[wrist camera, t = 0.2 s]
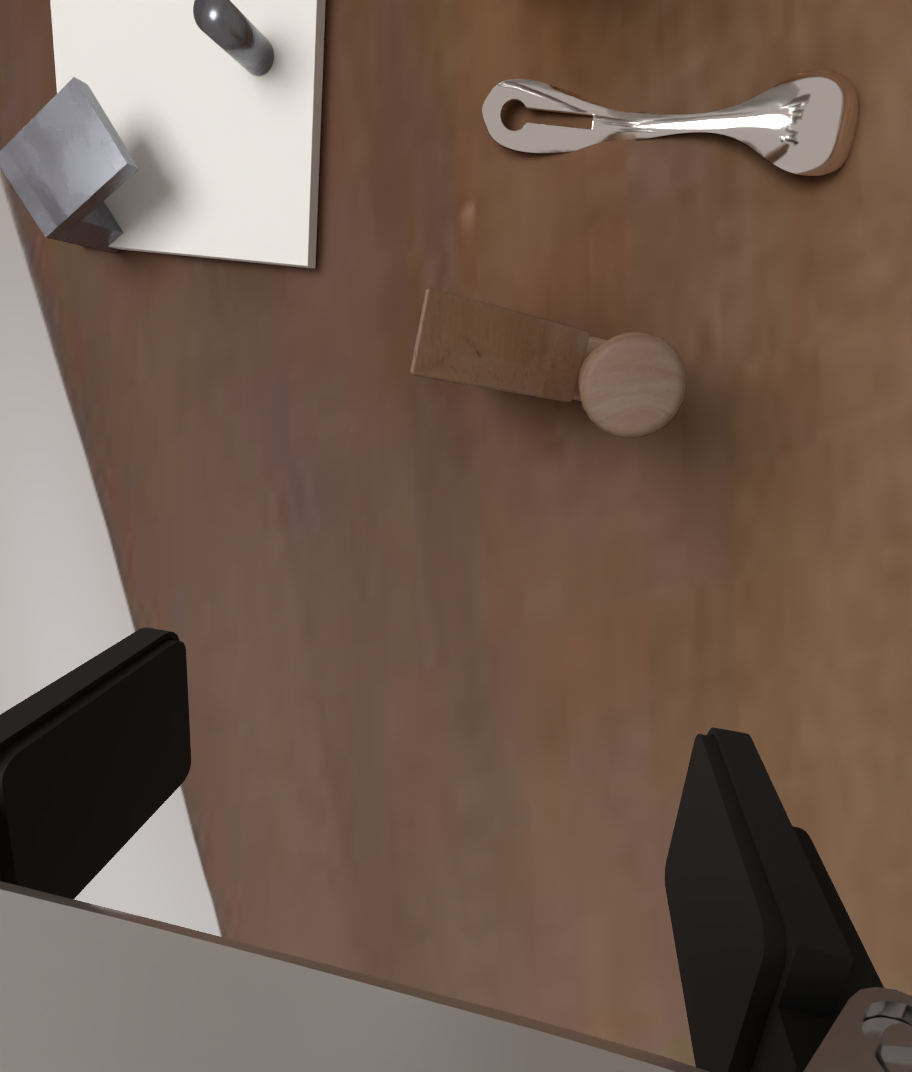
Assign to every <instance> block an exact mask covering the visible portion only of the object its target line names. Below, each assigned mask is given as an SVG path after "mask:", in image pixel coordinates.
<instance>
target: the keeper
mask: <svg viewBox="0 0 912 1072" xmlns="http://www.w3.org/2000/svg"><path fill="white" fill-rule="evenodd" d="M0 167H1V169H2V171H3V172H4V174H5V175H6V177H7V178H8V180H9V181H10V183H11V184H12V186H13V188H14V189H15V191H16V192H17V194H18V195H19V197H20V198H21V200H22V201H23V203H24V205H25V206H26V208H27V209H28V211H29V212H30V214H31V215H32V217H33V218H34V220H35V222H36V223H37V225H38V226H39V228H40V229H41V231H42V232H43V234H44V235H45V237H46V238H50V239H54V240H59V241H63V242H67V243H72V244H76V245H80V246H85V247H89V248H93V249H98V250H102V251H106V252H110V253H115V254H116V253H117V252H119V251H120V250H121V249H117V248H113V247H109V245H110V244H111V243H113V242H114V241H115V240H116V239H117V238H118V237H119V236H121V235H122V234H123V231H122V229H121V228H120V226H119V225H118V223H117V221H116V220H115V218H114V217H113V215H112V213H111V212H110V210H109V209H108V207H107V205H106V204H105V202H104V200H105V199H106V198H107V197H108V196H110V195H111V194H112V193H113V192H114V191H115V190H116V189H117V188H118V187H119V186H121V185H122V184H123V183H124V182H125V181H126V180H127V179H128V178H129V177H131V176H132V175H133V174H134V173H135V172H136V171H137V170H138V169H139V167H138V166H137V164H136V163H135V161H134V159H133V158H132V156H131V154H130V153H129V151H128V149H127V148H126V146H125V145H124V143H123V141H122V140H121V138H120V136H119V135H118V133H117V131H116V130H115V128H114V127H113V125H112V123H111V122H110V120H109V118H108V117H107V115H106V114H105V112H104V110H103V109H102V107H101V105H100V104H99V102H98V100H97V99H96V97H95V96H94V94H93V92H92V91H91V89H90V87H89V86H88V84H86V83H84V82H82V81H80V80H79V79H77V78H75V77H73V78H72V79H71V80H70V81H69V82H68V83H67V84H66V85H65V86H64V87H63V88H62V89H61V90H60V91H59V92H58V93H57V94H56V95H55V96H54V97H53V98H52V99H51V100H50V101H49V102H48V103H47V105H46V106H45V107H44V108H43V109H42V110H41V111H40V112H39V113H38V114H37V115H36V116H35V117H34V118H33V119H32V120H31V121H30V122H29V123H28V124H27V125H26V126H25V127H24V128H23V129H22V130H21V131H20V132H19V133H18V134H17V135H16V136H15V137H14V138H13V139H12V140H11V141H10V142H9V143H8V144H7V145H6V146H5V147H4V148H3V149H2V150H1V151H0Z"/></svg>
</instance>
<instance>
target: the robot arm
mask: <svg viewBox="0 0 912 1072" xmlns="http://www.w3.org/2000/svg"><path fill="white" fill-rule="evenodd" d="M190 766H191V748H190V727H189V706H188V685H187V664H186V648H185V645H184V643H183V642H181V641H179V638H178V636H177V634H175V633H174V632H169V631H164V630H158V629H152V628H142V629H139V630H138V631H136V632H134V633H133V634H131V635H130V636H128V637H126V638H125V639H123V640H122V641H120V642H118V643H117V644H115V645H113V646H112V647H110V648H108V649H107V650H105V651H103V652H102V653H100V654H99V655H97V656H95V657H94V658H92V659H90V660H89V661H87V662H86V663H84V664H82V665H81V666H79V667H77V668H76V669H74V670H73V671H71V672H69V673H68V674H66V675H64V676H63V677H61V678H60V679H58V680H56V681H55V682H53V683H51V684H50V685H48V686H46V687H45V688H43V689H42V690H40V691H38V692H37V693H35V694H33V695H32V696H30V697H29V698H27V699H25V700H24V701H22V702H21V703H19V704H17V705H16V706H14V707H12V708H11V709H9V710H7V711H6V712H4V713H2V714H1V715H0V1072H912V996H910V995H908V994H905V993H903V992H900V991H898V990H893V989H887V988H884V987H883V985H882V983H881V981H880V979H879V977H878V975H877V973H876V971H875V969H874V967H873V965H872V962H871V960H870V958H869V956H868V954H867V952H866V950H865V948H864V946H863V944H862V942H861V940H860V938H859V936H858V934H857V932H856V930H855V928H854V926H853V924H852V922H851V920H850V918H849V916H848V914H847V912H846V909H845V907H844V905H843V903H842V901H841V899H840V897H839V895H838V893H837V891H836V889H835V887H834V885H833V883H832V881H831V879H830V877H829V875H828V873H827V871H826V869H825V867H824V865H823V863H822V861H821V858H820V856H819V854H818V852H817V850H816V848H815V846H814V844H813V842H812V840H811V839H810V837H809V835H808V834H807V832H806V831H804V830H803V829H801V828H798V827H793V826H792V825H791V823H790V821H789V818H788V816H787V814H786V812H785V810H784V808H783V805H782V803H781V801H780V799H779V797H778V795H777V792H776V790H775V788H774V786H773V784H772V782H771V780H770V777H769V775H768V773H767V771H766V769H765V767H764V764H763V762H762V760H761V758H760V756H759V754H758V751H757V749H756V747H755V745H754V743H753V741H752V739H751V737H750V735H749V734H746V733H741V732H735V731H730V730H724V729H718V728H713V727H712V728H711V729H710V730H709V732H708V734H707V735H702V734H698V735H697V736H696V738H695V742H694V746H693V750H692V754H691V758H690V763H689V767H688V771H687V776H686V780H685V784H684V788H683V793H682V797H681V801H680V805H679V810H678V814H677V818H676V823H675V827H674V831H673V835H672V840H671V844H670V848H669V852H668V857H667V861H666V868H665V886H666V893H667V899H668V905H669V911H670V917H671V922H672V928H673V934H674V940H675V946H676V952H677V958H678V964H679V970H680V976H681V982H682V988H683V993H684V999H685V1005H686V1011H687V1017H688V1023H689V1029H690V1035H691V1041H692V1047H693V1053H694V1059H695V1064H696V1067H693V1066H690V1065H687V1064H684V1063H681V1062H678V1061H675V1060H672V1059H669V1058H666V1057H663V1056H660V1055H657V1054H654V1053H650V1052H647V1051H643V1050H640V1049H636V1048H633V1047H629V1046H626V1045H622V1044H619V1043H615V1042H612V1041H608V1040H605V1039H601V1038H598V1037H594V1036H591V1035H587V1034H584V1033H580V1032H576V1031H573V1030H569V1029H566V1028H562V1027H559V1026H555V1025H552V1024H548V1023H545V1022H541V1021H538V1020H534V1019H531V1018H527V1017H523V1016H519V1015H516V1014H512V1013H508V1012H504V1011H501V1010H497V1009H493V1008H489V1007H486V1006H482V1005H478V1004H474V1003H470V1002H467V1001H463V1000H459V999H455V998H452V997H448V996H444V995H440V994H437V993H433V992H429V991H425V990H422V989H418V988H414V987H410V986H406V985H403V984H399V983H395V982H391V981H388V980H384V979H380V978H376V977H373V976H369V975H365V974H361V973H358V972H354V971H350V970H346V969H342V968H338V967H335V966H331V965H327V964H323V963H319V962H315V961H311V960H308V959H304V958H300V957H296V956H292V955H288V954H285V953H281V952H277V951H273V950H269V949H265V948H261V947H258V946H254V945H250V944H246V943H242V942H238V941H234V940H230V939H227V938H223V937H219V936H215V935H211V934H207V933H203V932H199V931H195V930H192V929H187V928H184V927H180V926H176V925H172V924H168V923H164V922H161V921H156V920H153V919H149V918H145V917H141V916H136V915H133V914H129V913H125V912H120V911H117V910H113V909H109V908H105V907H101V906H97V905H93V904H89V903H85V902H81V901H77V900H73V899H74V898H75V897H76V896H77V895H78V894H79V893H80V892H81V891H82V890H83V889H84V887H85V886H86V885H87V884H88V883H89V882H90V881H91V880H92V879H93V878H94V877H95V875H97V874H98V873H99V871H100V870H101V869H102V868H103V867H104V866H105V865H106V864H107V863H108V862H109V861H110V860H111V859H112V858H113V857H114V855H115V854H116V853H117V852H118V851H119V850H120V849H121V848H122V847H123V846H124V845H125V844H126V843H127V842H128V840H129V839H130V838H131V837H132V836H133V835H134V834H135V833H136V832H137V831H138V830H139V829H140V828H141V827H142V826H143V824H144V823H145V822H146V821H147V820H148V819H149V818H150V817H151V816H152V815H153V814H154V813H155V812H156V811H157V809H158V808H159V807H160V806H161V805H162V804H163V803H164V802H165V801H166V800H167V799H168V798H169V797H170V796H171V795H172V793H173V792H174V791H175V790H176V789H177V788H178V787H179V786H180V785H181V784H182V783H183V781H184V780H185V779H186V777H187V775H188V772H189V770H190Z"/></svg>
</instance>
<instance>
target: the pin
mask: <svg viewBox="0 0 912 1072" xmlns="http://www.w3.org/2000/svg"><path fill="white" fill-rule="evenodd" d="M193 14H194V19H195V22H196V24H197V26H198V27H199V28H200V29H201V30H202V31H203V32H204V33H205V34H206V35H207V36H208V37H210V38H211V39H212V40H213V41H214V42H215V43H216V44H218V45H219V46H220V47H221V48H222V49H223V50H224V51H225V52H227V53H228V54H229V55H230V56H231V57H232V58H233V59H235V60H236V61H237V62H238V63H239V64H240V65H241V66H242V67H244V68H245V69H246V70H247V71H248V72H249V73H251V74H252V75H255V76H262V75H264V74H266V73H267V72H268V71H269V70H270V69H271V67H272V65H273V61H274V51H273V47H272V45H271V43H270V42H269V41H268V40H267V38H266V37H265V36H264V35H263V34H262V33H261V32H260V31H259V30H258V29H257V28H256V27H255V26H254V25H253V24H252V23H251V22H250V21H249V20H248V19H247V18H246V17H245V16H244V15H243V14H242V13H241V11H240V10H239V9H238V8H237V7H236V6H235V5H234V4H233V3H232V2H231V1H230V0H195V1H194V6H193Z"/></svg>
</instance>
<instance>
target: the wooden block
mask: <svg viewBox="0 0 912 1072" xmlns="http://www.w3.org/2000/svg"><path fill="white" fill-rule="evenodd" d="M410 372H411V374H412V375H414V376H418V377H424V378H430V379H436V380H442V381H447V382H453V383H459V384H465V385H470V386H476V387H482V388H488V389H494V390H499V391H505V392H511V393H517V394H523V395H528V396H534V397H540V398H546V399H551V400H557V401H563V402H571V400H572V399H573V400H577V401H581V402H582V406H583V408H584V410H585V412H586V413H587V415H588V417H589V419H590V420H591V421H592V422H593V423H594V424H595V425H596V426H598V427H599V428H600V429H601V430H602V431H605V432H607V433H609V434H612V435H614V436H616V437H627V438H635V437H640V436H644V435H649V434H651V433H653V432H654V431H656V430H658V429H660V428H662V427H663V426H665V425H666V424H667V423H668V422H669V421H670V420H671V418H672V417H673V416H674V415H675V414H676V413H677V411H678V409H679V407H680V405H681V403H682V401H683V399H684V396H685V390H686V384H687V379H686V372H685V366H684V363H683V361H682V360H681V358H680V356H679V354H678V352H677V350H676V349H675V348H674V347H672V346H671V345H670V344H669V343H668V342H667V341H666V340H665V339H663V338H660V337H658V336H656V335H653V334H651V333H647V332H628V333H624V334H620V335H616V336H614V337H612V338H610V339H609V340H606V339H602V338H598V337H593V336H590V333H589V332H587V331H585V330H581V329H578V328H574V327H571V326H567V325H563V324H560V323H556V322H553V321H549V320H545V319H542V318H538V317H535V316H531V315H527V314H524V313H520V312H517V311H513V310H509V309H506V308H502V307H499V306H495V305H491V304H488V303H484V302H481V301H477V300H473V299H470V298H466V297H463V296H459V295H455V294H452V293H448V292H445V291H441V290H437V289H434V288H428V289H427V290H426V291H425V296H424V301H423V307H422V312H421V317H420V322H419V327H418V333H417V338H416V343H415V348H414V354H413V359H412V364H411V369H410Z"/></svg>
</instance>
